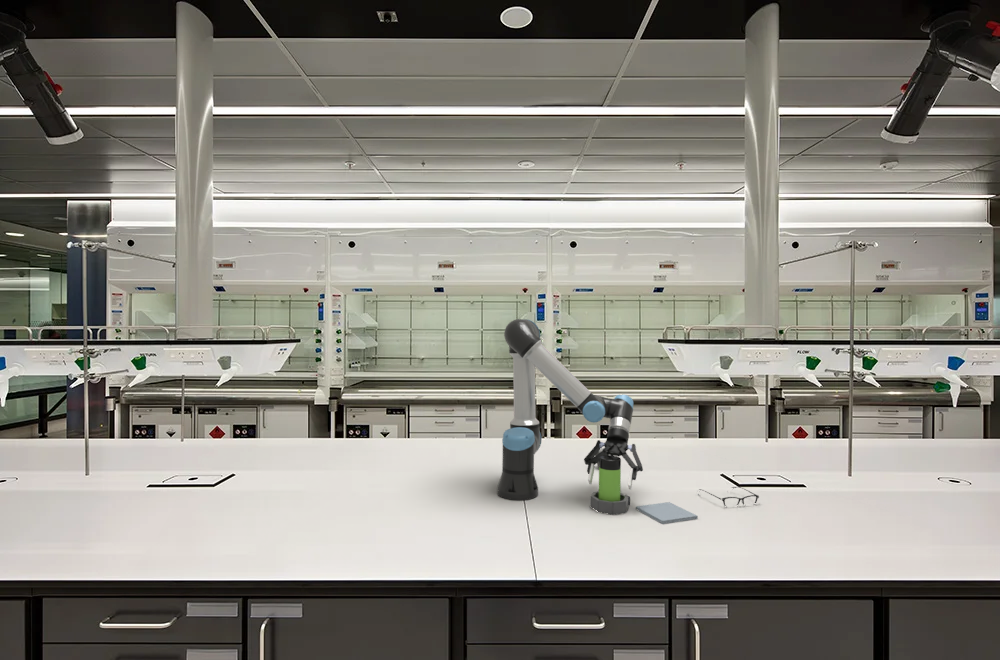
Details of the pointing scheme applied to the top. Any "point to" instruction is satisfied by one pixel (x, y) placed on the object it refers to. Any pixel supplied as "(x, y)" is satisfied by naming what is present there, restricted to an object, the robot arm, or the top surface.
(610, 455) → the electrical switch
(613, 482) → the green bottle
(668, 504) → the pad
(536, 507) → the top surface
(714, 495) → the eyeglasses
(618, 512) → the strap ring
